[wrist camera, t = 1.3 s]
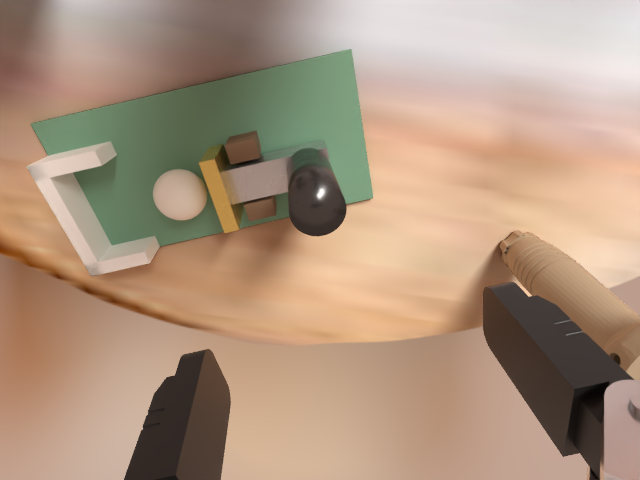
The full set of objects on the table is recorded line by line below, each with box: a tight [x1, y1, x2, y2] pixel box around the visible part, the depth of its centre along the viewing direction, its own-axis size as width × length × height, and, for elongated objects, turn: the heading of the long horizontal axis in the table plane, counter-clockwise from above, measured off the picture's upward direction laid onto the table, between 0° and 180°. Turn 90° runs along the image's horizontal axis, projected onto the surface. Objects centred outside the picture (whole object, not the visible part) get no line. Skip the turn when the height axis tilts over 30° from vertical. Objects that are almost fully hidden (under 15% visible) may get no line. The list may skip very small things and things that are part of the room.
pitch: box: [31, 49, 373, 246], centre depth 28 cm, size 11×22×1 cm, turn 102°
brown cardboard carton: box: [225, 130, 277, 221], centre depth 27 cm, size 6×2×3 cm, turn 12°
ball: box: [153, 169, 207, 220], centre depth 27 cm, size 4×4×4 cm
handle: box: [500, 231, 640, 381], centre depth 28 cm, size 5×6×15 cm
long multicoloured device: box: [199, 140, 346, 236], centre depth 24 cm, size 8×5×9 cm, turn 102°
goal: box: [26, 141, 160, 276], centre depth 28 cm, size 9×4×3 cm, turn 12°
